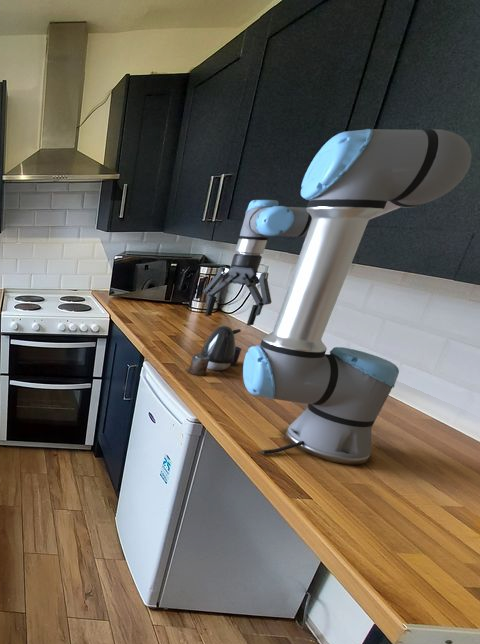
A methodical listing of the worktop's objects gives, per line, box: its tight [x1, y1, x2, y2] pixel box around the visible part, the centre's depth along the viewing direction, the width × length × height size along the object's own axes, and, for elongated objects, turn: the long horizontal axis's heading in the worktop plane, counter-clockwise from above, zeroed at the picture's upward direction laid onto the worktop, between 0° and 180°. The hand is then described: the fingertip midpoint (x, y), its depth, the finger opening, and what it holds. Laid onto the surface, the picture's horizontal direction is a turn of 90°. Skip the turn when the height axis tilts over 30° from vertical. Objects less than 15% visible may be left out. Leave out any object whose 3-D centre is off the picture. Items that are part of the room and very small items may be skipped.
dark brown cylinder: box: [188, 353, 210, 377], centre depth 135 cm, size 5×5×6 cm
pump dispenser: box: [199, 325, 242, 372], centre depth 138 cm, size 10×10×15 cm
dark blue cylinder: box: [229, 345, 242, 367], centre depth 145 cm, size 5×5×6 cm
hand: (228, 320), depth 134 cm, fingers open, 13 cm apart
